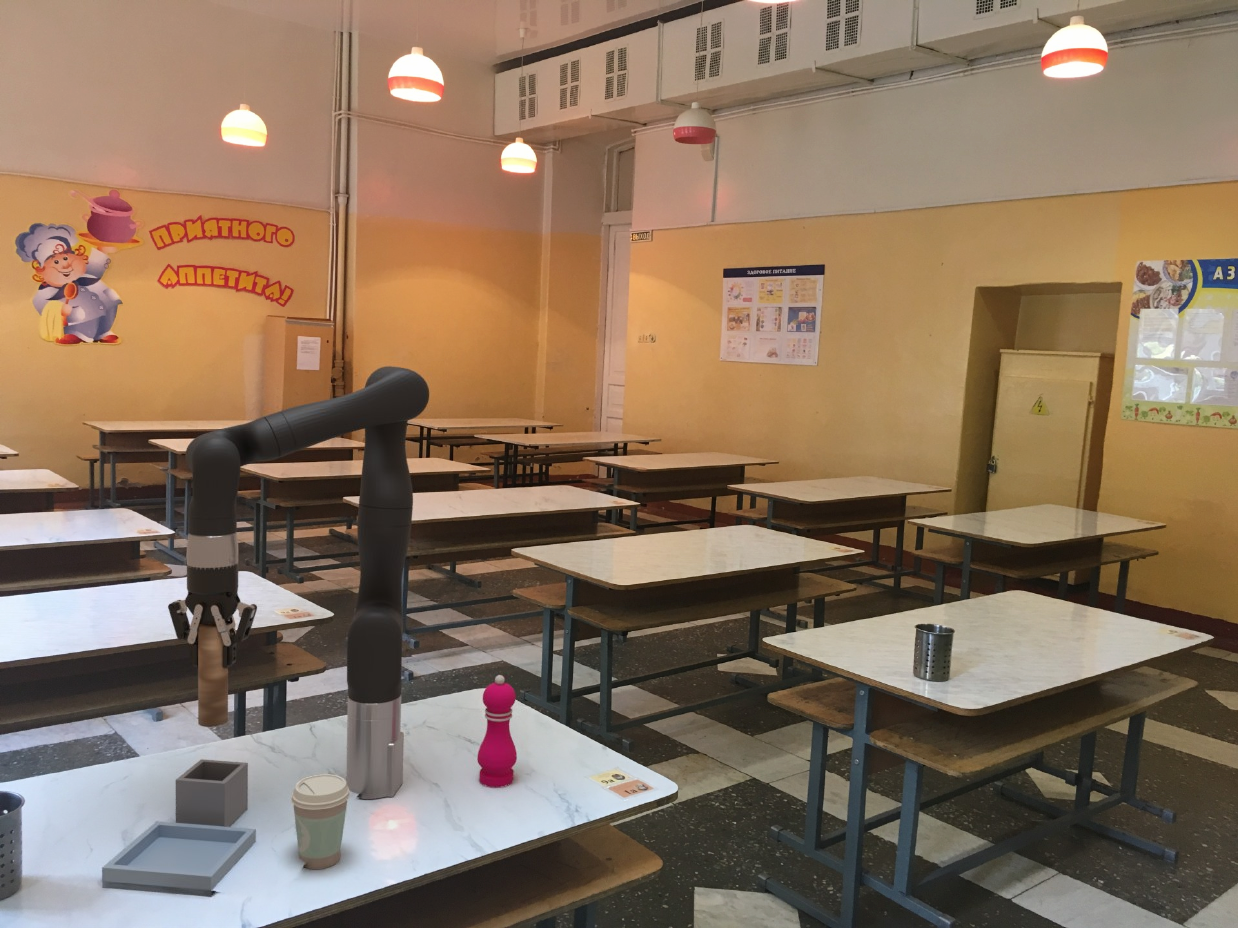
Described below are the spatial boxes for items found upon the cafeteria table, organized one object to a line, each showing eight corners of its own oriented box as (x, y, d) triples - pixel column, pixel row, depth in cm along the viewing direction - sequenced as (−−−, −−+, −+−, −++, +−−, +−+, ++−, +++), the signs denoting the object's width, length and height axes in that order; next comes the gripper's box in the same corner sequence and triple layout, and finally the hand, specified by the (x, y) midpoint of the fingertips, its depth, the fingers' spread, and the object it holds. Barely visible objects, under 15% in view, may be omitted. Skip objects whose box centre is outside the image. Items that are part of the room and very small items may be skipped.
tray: (255, 847, 148) (255, 828, 148) (211, 896, 134) (211, 876, 134) (156, 839, 149) (156, 820, 149) (102, 887, 135) (102, 867, 135)
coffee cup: (298, 845, 149) (299, 771, 148) (353, 845, 150) (354, 772, 149) (283, 874, 141) (284, 796, 139) (342, 874, 141) (343, 797, 140)
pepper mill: (469, 783, 174) (472, 677, 172) (489, 768, 180) (492, 666, 178) (504, 791, 171) (507, 684, 169) (522, 776, 178) (526, 672, 176)
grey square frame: (247, 814, 158) (247, 762, 157) (224, 837, 150) (224, 783, 149) (201, 810, 159) (201, 759, 158) (175, 834, 151) (175, 779, 150)
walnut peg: (232, 717, 155) (233, 621, 153) (219, 727, 150) (219, 629, 149) (206, 715, 155) (206, 620, 154) (192, 725, 151) (192, 627, 149)
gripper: (267, 558, 153) (266, 661, 155) (181, 553, 154) (182, 656, 156) (245, 568, 146) (245, 676, 148) (156, 563, 147) (156, 670, 149)
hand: (212, 665), depth 152 cm, fingers closed on walnut peg, 4 cm apart
